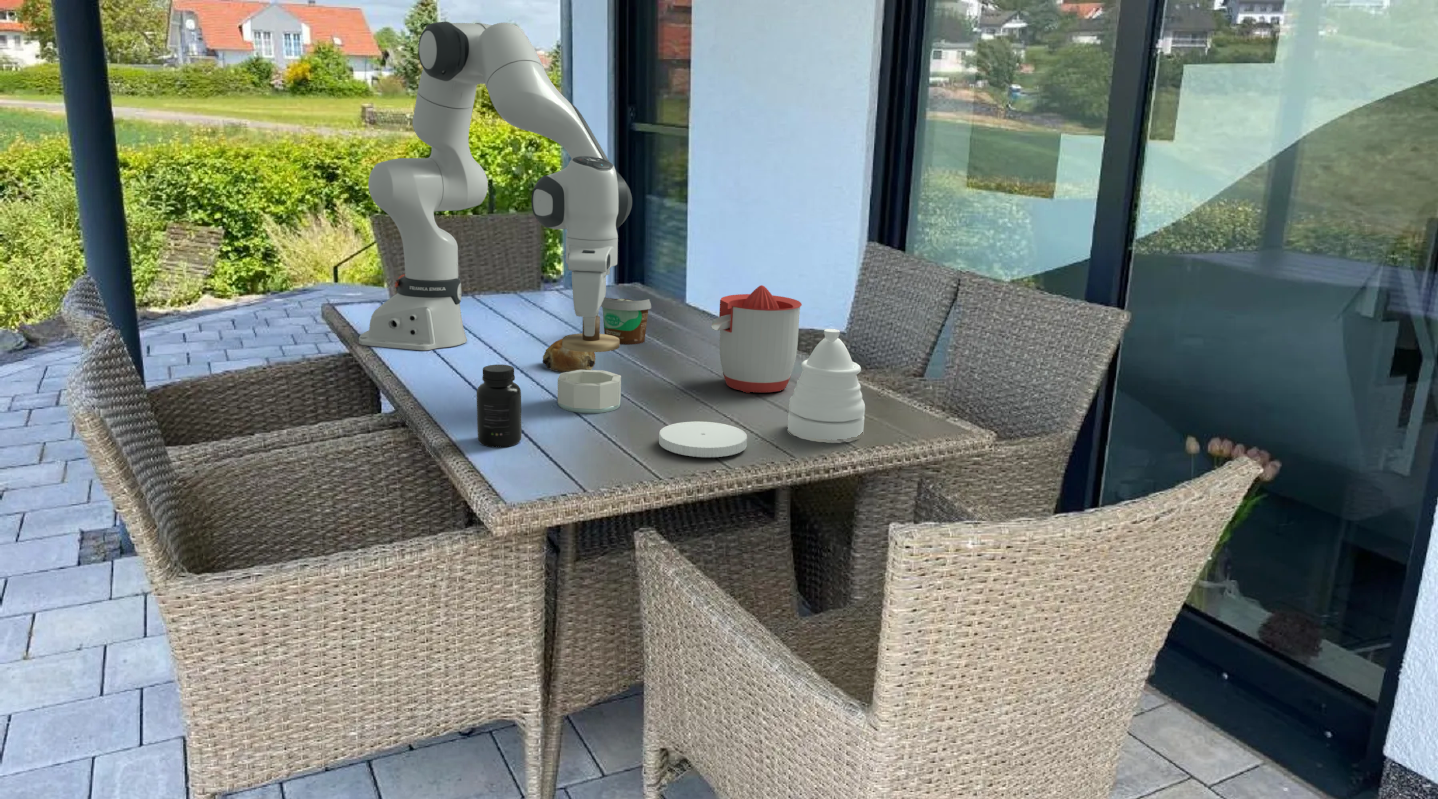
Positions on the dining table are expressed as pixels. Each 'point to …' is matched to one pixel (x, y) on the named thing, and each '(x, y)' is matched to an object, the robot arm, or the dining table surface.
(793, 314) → the citrus juicer
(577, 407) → the octagonal jar
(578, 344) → the wooden lid
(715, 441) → the plastic lid
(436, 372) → the dining table surface
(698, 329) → the dining table surface
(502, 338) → the dining table surface
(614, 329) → the food container
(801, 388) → the honey pot
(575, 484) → the dining table surface
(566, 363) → the bread roll
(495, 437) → the supplement bottle
